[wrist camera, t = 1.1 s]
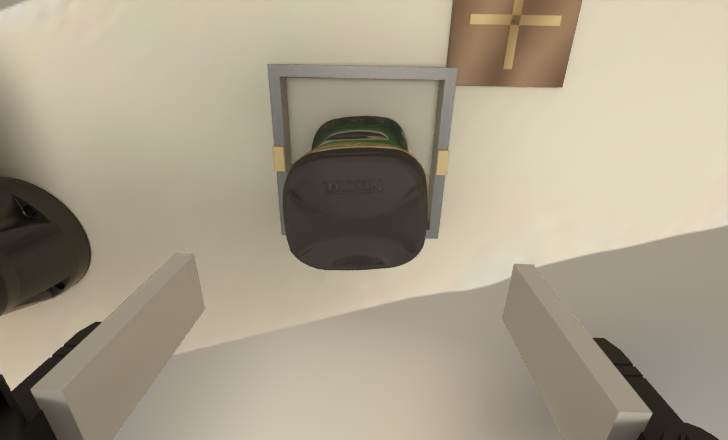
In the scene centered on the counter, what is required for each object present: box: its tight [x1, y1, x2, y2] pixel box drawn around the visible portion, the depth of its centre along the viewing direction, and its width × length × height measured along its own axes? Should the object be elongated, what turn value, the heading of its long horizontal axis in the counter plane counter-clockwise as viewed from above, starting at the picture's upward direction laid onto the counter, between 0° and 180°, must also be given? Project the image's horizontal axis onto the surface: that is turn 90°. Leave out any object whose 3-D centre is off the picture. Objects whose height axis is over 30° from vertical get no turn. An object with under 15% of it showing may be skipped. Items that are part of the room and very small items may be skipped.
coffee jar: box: [283, 116, 428, 270], centre depth 28 cm, size 10×8×19 cm
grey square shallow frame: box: [268, 64, 457, 239], centre depth 35 cm, size 17×17×3 cm
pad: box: [446, 0, 582, 87], centre depth 31 cm, size 11×11×1 cm
